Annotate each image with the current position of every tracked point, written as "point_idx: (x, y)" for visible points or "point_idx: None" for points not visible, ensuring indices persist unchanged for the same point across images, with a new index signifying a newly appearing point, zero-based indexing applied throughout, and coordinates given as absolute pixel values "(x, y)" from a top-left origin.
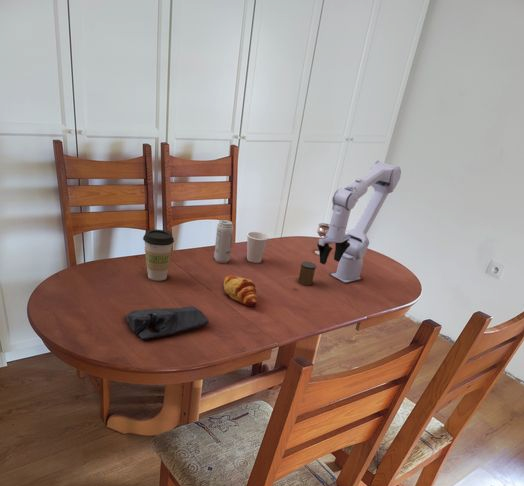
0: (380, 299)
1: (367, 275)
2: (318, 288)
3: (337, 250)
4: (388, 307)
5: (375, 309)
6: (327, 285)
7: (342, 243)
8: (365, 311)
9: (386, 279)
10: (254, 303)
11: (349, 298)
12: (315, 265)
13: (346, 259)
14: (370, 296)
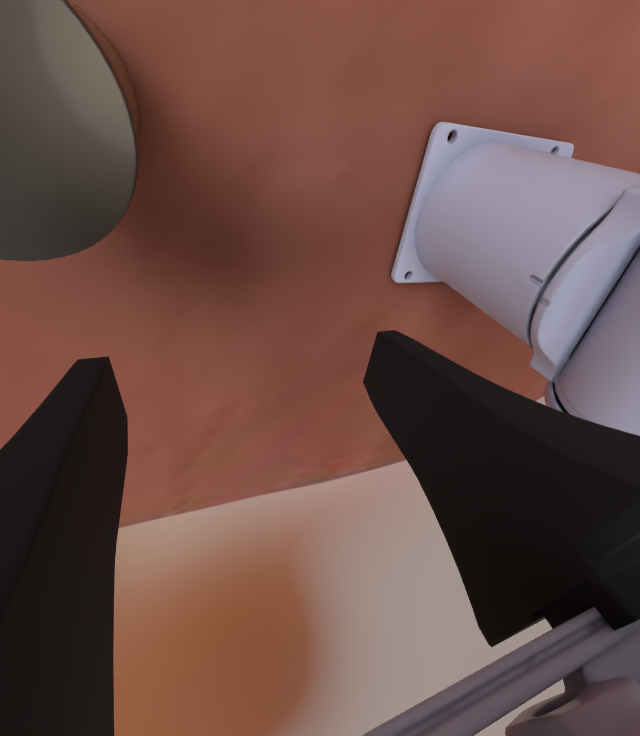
0: (365, 434)
1: None
2: (128, 263)
3: (452, 433)
4: (329, 476)
5: (269, 484)
6: (249, 252)
7: (527, 605)
8: (213, 493)
9: None
10: None
11: (242, 411)
12: (106, 212)
13: (523, 310)
14: (355, 412)
